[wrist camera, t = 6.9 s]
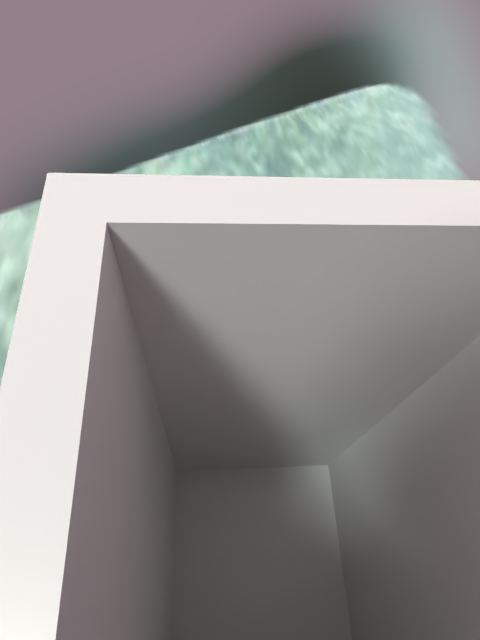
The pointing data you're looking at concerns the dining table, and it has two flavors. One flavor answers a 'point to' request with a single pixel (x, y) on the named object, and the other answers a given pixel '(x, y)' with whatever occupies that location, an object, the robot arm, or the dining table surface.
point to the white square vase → (244, 412)
